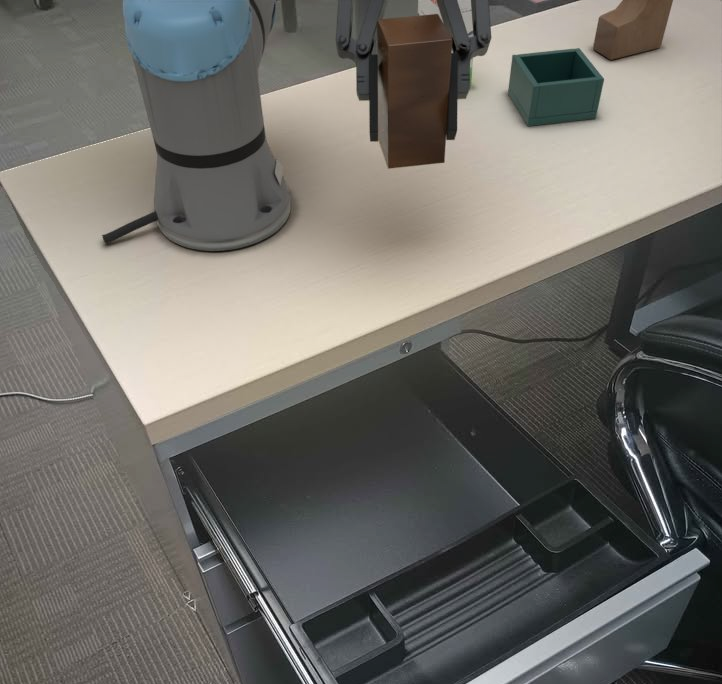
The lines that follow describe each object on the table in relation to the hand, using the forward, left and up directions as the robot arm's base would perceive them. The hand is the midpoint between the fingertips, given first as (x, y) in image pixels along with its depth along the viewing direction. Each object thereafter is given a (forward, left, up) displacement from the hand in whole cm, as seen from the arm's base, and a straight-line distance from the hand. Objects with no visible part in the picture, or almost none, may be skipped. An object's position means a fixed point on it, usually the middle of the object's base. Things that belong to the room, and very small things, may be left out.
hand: (412, 135), depth 69 cm
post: (+1, +4, -3) cm, 5 cm away
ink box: (+13, +41, -14) cm, 45 cm away
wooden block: (+41, +44, -14) cm, 62 cm away
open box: (+25, +30, -14) cm, 42 cm away
